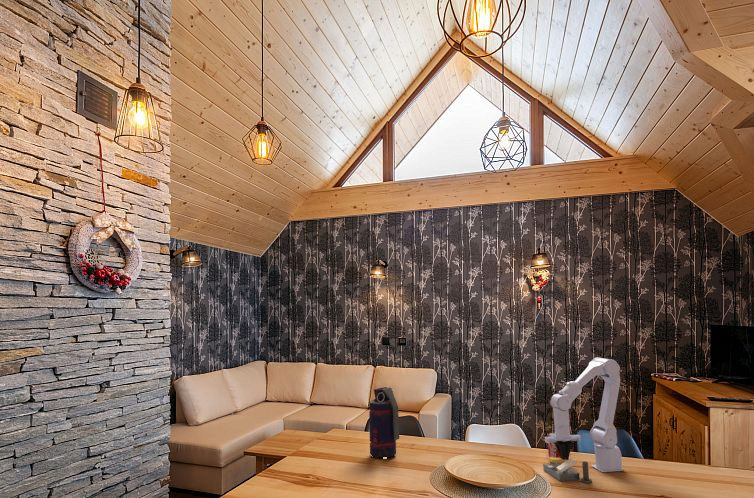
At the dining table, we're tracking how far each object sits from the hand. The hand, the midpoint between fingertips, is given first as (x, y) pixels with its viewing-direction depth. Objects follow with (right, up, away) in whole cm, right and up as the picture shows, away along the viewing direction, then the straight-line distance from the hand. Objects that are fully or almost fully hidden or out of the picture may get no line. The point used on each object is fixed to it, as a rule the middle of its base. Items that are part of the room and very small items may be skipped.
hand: (564, 460), depth 195 cm
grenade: (-71, -9, +25) cm, 76 cm away
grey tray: (-2, -4, -3) cm, 6 cm away
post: (+4, -3, -11) cm, 12 cm away
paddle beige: (-2, +1, -7) cm, 7 cm away
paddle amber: (-3, 0, 0) cm, 3 cm away
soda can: (+1, -6, +10) cm, 12 cm away
